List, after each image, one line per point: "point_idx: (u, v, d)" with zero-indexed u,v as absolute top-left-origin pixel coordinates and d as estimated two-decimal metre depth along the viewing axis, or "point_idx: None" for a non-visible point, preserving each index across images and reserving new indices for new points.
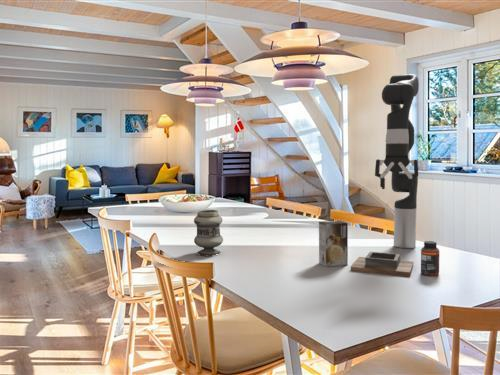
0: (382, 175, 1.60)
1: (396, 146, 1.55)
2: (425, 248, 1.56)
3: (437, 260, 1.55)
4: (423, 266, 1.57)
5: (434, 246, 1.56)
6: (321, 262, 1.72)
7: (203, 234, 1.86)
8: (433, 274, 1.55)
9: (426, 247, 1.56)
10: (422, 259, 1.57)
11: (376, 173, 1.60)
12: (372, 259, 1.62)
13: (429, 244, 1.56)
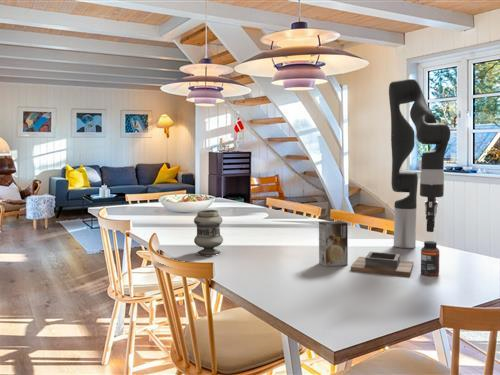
0: None
1: None
2: (425, 248, 1.56)
3: (437, 260, 1.55)
4: (423, 266, 1.57)
5: (434, 246, 1.56)
6: (321, 262, 1.72)
7: (203, 234, 1.86)
8: (433, 274, 1.55)
9: (426, 247, 1.56)
10: (422, 259, 1.57)
11: (434, 216, 1.50)
12: (372, 259, 1.62)
13: (429, 244, 1.56)
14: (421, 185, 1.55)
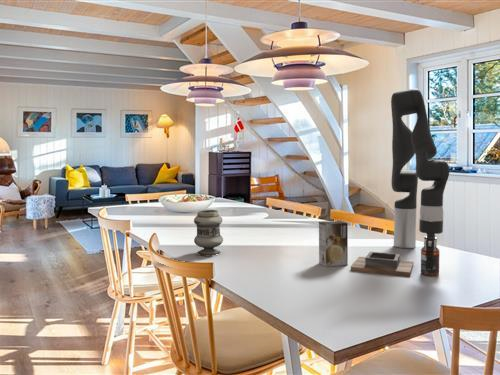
0: None
1: None
2: None
3: (437, 260, 1.55)
4: (423, 266, 1.57)
5: None
6: (321, 262, 1.72)
7: (203, 234, 1.86)
8: (433, 274, 1.55)
9: None
10: (422, 259, 1.57)
11: (433, 255, 1.52)
12: (372, 259, 1.62)
13: None
14: (420, 221, 1.56)
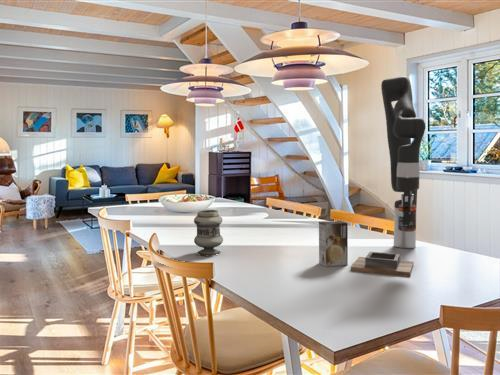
0: (410, 211, 1.57)
1: (418, 179, 1.58)
2: None
3: (414, 216, 1.59)
4: (400, 222, 1.60)
5: None
6: (321, 262, 1.72)
7: (203, 234, 1.86)
8: (410, 229, 1.59)
9: None
10: (399, 215, 1.60)
11: None
12: (372, 259, 1.62)
13: None
14: (397, 178, 1.59)
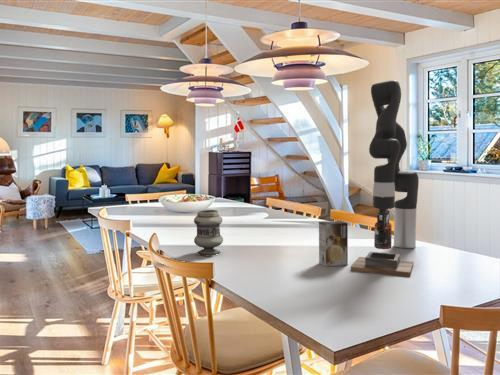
0: (385, 229, 1.61)
1: (393, 198, 1.63)
2: None
3: (389, 234, 1.63)
4: (376, 240, 1.64)
5: None
6: (321, 262, 1.72)
7: (203, 234, 1.86)
8: (385, 247, 1.63)
9: None
10: (375, 233, 1.65)
11: (384, 228, 1.59)
12: (372, 259, 1.62)
13: None
14: (373, 197, 1.64)
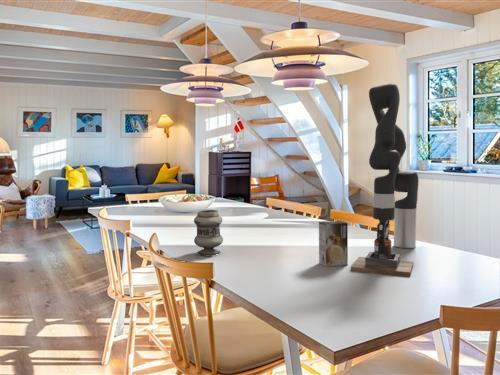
0: None
1: (394, 210, 1.63)
2: None
3: (389, 250, 1.63)
4: (376, 256, 1.65)
5: (386, 237, 1.64)
6: (321, 262, 1.72)
7: (203, 234, 1.86)
8: None
9: None
10: (375, 250, 1.65)
11: (384, 239, 1.59)
12: (372, 259, 1.62)
13: None
14: (373, 208, 1.64)
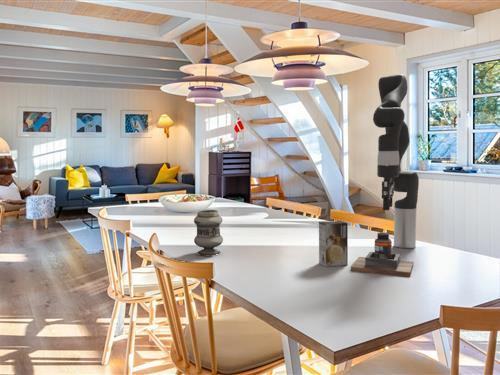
0: (390, 196, 1.61)
1: None
2: (378, 239, 1.64)
3: (389, 250, 1.63)
4: (376, 256, 1.65)
5: (386, 237, 1.64)
6: (321, 262, 1.72)
7: (203, 234, 1.86)
8: None
9: (379, 238, 1.64)
10: (375, 250, 1.65)
11: (389, 195, 1.59)
12: (372, 259, 1.62)
13: (381, 235, 1.64)
14: (378, 166, 1.64)
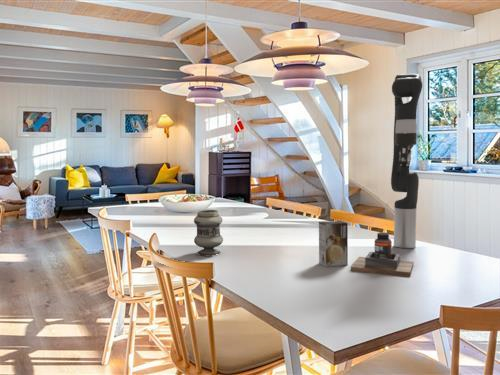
0: (407, 163, 1.67)
1: (415, 135, 1.69)
2: (378, 239, 1.64)
3: (389, 250, 1.63)
4: (376, 256, 1.65)
5: (386, 237, 1.63)
6: (321, 262, 1.72)
7: (203, 234, 1.86)
8: None
9: (378, 238, 1.64)
10: (375, 250, 1.65)
11: (407, 161, 1.65)
12: (372, 259, 1.62)
13: (381, 235, 1.64)
14: (396, 134, 1.70)
